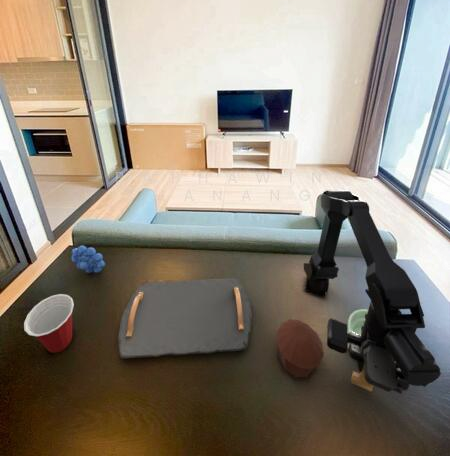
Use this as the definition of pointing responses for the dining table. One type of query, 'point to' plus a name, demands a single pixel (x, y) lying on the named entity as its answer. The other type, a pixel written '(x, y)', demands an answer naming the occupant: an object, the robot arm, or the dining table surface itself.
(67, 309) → the plastic cup
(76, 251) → the grapes
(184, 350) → the serving tray
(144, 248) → the dining table surface
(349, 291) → the dining table surface
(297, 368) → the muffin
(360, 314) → the bowl
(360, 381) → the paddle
